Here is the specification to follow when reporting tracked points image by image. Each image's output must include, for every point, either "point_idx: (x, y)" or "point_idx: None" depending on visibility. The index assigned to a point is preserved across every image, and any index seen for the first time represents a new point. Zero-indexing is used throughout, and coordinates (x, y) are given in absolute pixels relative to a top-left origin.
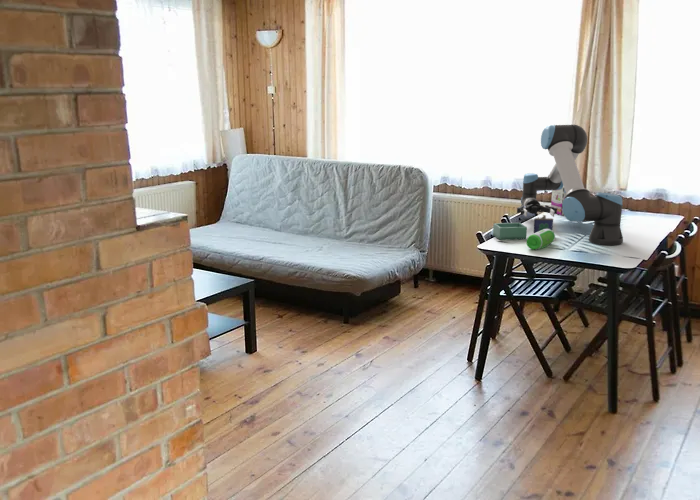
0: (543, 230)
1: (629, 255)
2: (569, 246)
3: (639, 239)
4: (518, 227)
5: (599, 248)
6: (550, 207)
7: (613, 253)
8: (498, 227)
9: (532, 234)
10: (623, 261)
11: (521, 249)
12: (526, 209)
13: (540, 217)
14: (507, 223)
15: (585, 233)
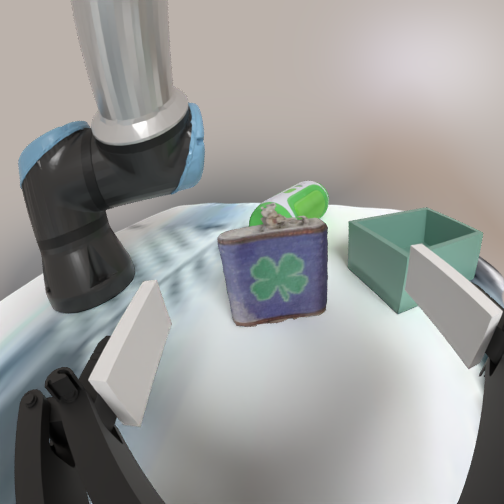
0: (286, 191)
1: (130, 232)
2: (216, 244)
3: (10, 308)
4: (377, 216)
5: (151, 246)
6: (42, 487)
7: (148, 233)
8: (437, 214)
9: (315, 182)
10: (163, 215)
11: (339, 215)
12: (498, 409)
13: (292, 217)
14: (446, 241)
15: None
